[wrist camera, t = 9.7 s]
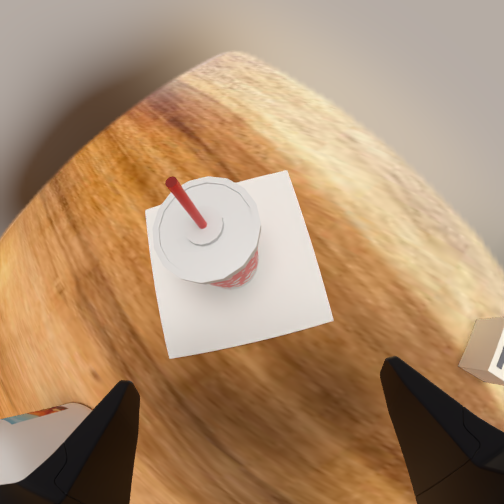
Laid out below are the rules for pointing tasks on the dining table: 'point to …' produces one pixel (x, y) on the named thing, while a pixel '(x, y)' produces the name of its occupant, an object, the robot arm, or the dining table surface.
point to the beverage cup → (208, 232)
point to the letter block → (486, 351)
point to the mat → (253, 293)
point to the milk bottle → (35, 438)
